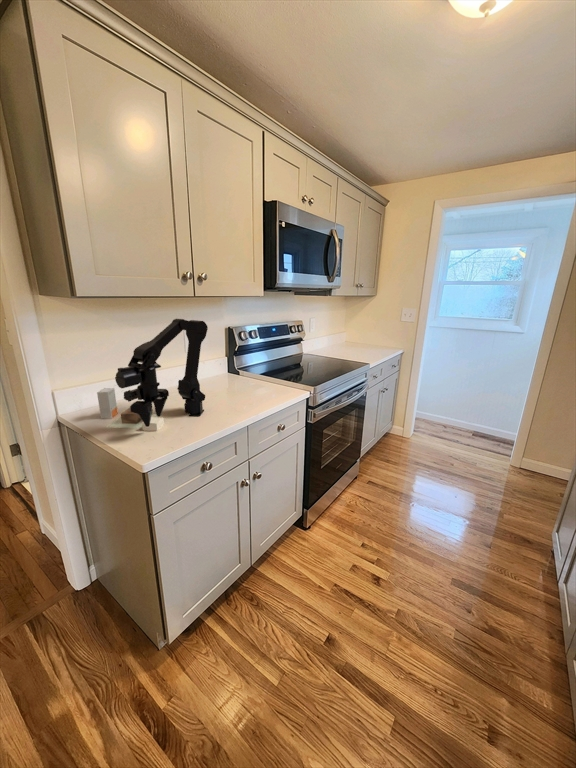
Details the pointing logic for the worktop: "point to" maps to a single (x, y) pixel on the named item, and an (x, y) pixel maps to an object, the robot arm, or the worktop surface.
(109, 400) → the skincare box
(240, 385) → the worktop surface
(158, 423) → the brick cream
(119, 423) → the baseplate
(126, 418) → the brick walnut
